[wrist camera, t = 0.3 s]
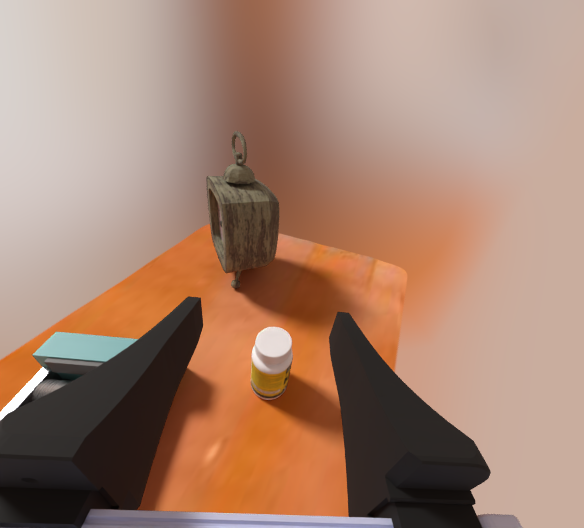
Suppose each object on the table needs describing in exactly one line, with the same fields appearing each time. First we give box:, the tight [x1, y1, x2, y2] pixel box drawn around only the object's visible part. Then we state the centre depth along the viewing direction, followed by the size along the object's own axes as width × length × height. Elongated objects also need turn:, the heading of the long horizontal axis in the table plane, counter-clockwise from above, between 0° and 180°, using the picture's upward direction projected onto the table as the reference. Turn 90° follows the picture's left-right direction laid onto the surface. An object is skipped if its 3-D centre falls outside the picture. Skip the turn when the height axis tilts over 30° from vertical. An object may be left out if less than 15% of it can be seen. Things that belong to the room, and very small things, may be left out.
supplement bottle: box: [251, 327, 293, 400], centre depth 28 cm, size 5×5×8 cm
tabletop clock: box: [207, 131, 279, 289], centre depth 41 cm, size 14×9×25 cm, turn 26°
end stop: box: [32, 332, 138, 380], centre depth 27 cm, size 4×14×5 cm, turn 89°
